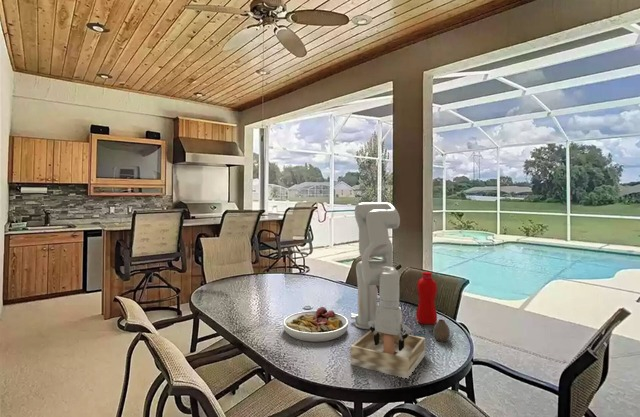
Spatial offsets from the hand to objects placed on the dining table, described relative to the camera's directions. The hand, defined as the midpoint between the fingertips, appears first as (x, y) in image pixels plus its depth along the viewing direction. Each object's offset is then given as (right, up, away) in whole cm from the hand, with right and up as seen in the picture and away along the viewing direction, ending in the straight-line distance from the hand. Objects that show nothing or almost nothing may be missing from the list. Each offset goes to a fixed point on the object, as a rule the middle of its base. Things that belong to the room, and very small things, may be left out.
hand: (388, 346), depth 145 cm
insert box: (0, -5, 0) cm, 5 cm away
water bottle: (+26, -3, +43) cm, 50 cm away
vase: (+26, -4, +19) cm, 33 cm away
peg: (0, -5, 0) cm, 5 cm away
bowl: (-29, -4, +30) cm, 42 cm away
